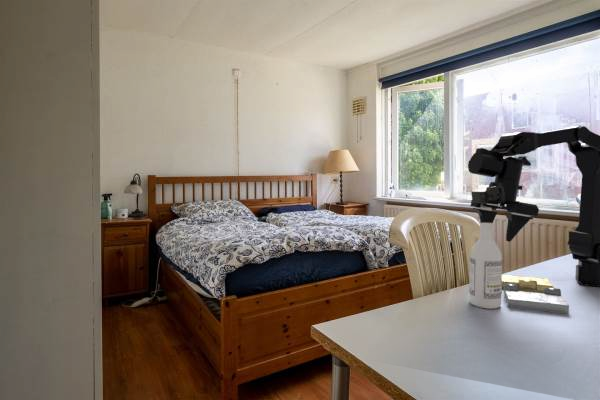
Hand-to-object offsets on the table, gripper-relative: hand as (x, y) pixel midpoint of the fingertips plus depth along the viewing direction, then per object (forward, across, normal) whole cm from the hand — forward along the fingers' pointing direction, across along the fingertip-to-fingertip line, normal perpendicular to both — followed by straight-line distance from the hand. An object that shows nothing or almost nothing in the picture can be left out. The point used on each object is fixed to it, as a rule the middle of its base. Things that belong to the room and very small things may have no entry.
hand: (495, 238), depth 97 cm
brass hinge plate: (+13, -1, +13) cm, 18 cm away
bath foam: (+16, +8, -6) cm, 19 cm away
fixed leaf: (+14, +10, +6) cm, 18 cm away
